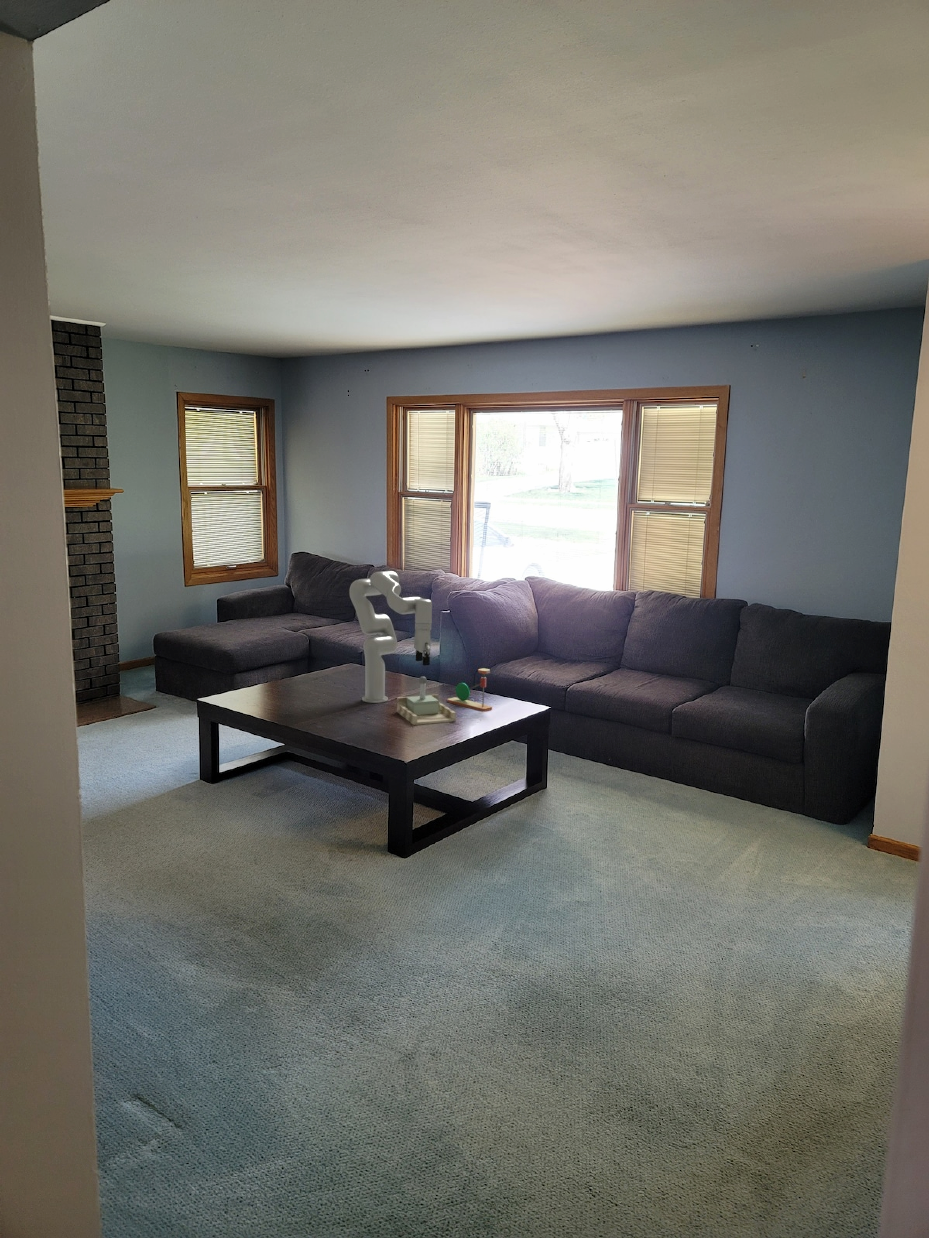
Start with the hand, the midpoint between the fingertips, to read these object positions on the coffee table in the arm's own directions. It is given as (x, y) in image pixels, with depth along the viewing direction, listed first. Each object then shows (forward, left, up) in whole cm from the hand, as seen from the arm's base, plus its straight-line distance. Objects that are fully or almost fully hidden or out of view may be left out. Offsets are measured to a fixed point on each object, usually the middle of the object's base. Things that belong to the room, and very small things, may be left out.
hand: (422, 663), depth 403 cm
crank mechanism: (-8, +28, -25) cm, 38 cm away
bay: (+4, +1, -24) cm, 25 cm away
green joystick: (0, 0, -23) cm, 23 cm away
